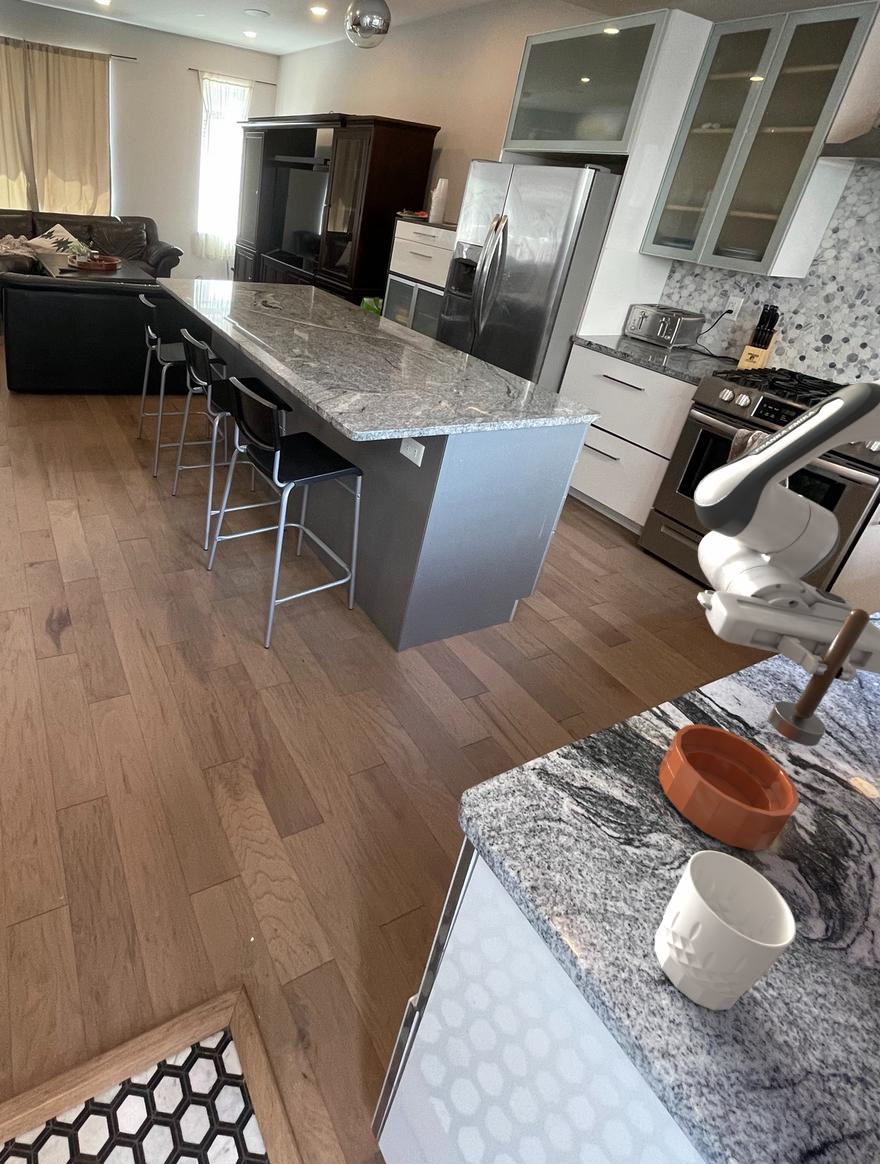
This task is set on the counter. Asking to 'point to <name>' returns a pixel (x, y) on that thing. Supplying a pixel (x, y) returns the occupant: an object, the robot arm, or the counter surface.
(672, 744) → the bowl
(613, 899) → the counter surface
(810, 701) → the wooden peg on disc
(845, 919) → the counter surface
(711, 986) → the white cup
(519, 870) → the counter surface
